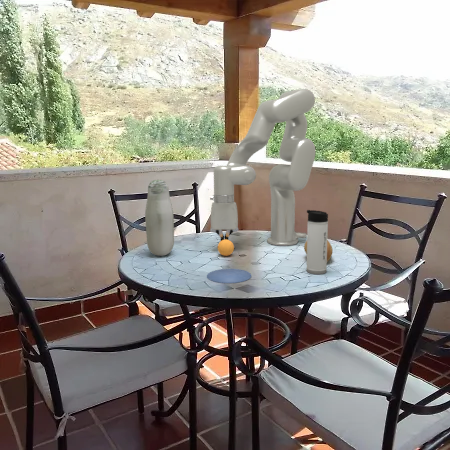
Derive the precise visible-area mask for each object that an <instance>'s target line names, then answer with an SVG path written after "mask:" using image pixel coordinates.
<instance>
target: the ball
mask: <svg viewBox="0 0 450 450" xmlns="http://www.w3.org/2000/svg"><path fill="white" fill-rule="evenodd" d="M234 249H235V246H234V243H233V242H232V241H231V240H229V239H228V240H226V239H225V238H224V240H222V241H221V240H220V241H219V243H218V244H217V251H218V253H219V254H220V255H222V257H223V256H225V257H228V256H230V255H231V254H233V252H234Z"/></svg>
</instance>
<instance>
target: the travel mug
mask: <svg viewBox="0 0 450 450" xmlns="http://www.w3.org/2000/svg"><path fill="white" fill-rule="evenodd" d="M306 214H307V226H306V227H307V228H306V229H307V231H306V232H307V233H306V241H307V254H306V272H307V274H308V273H309V274H311V275H324V274H326V273H327V264H328V262H327V240H328V233H329V231H328V228H329V213H327V212H326V211H323V210H314V209H313V210H312V209H307V210H306Z"/></svg>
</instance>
